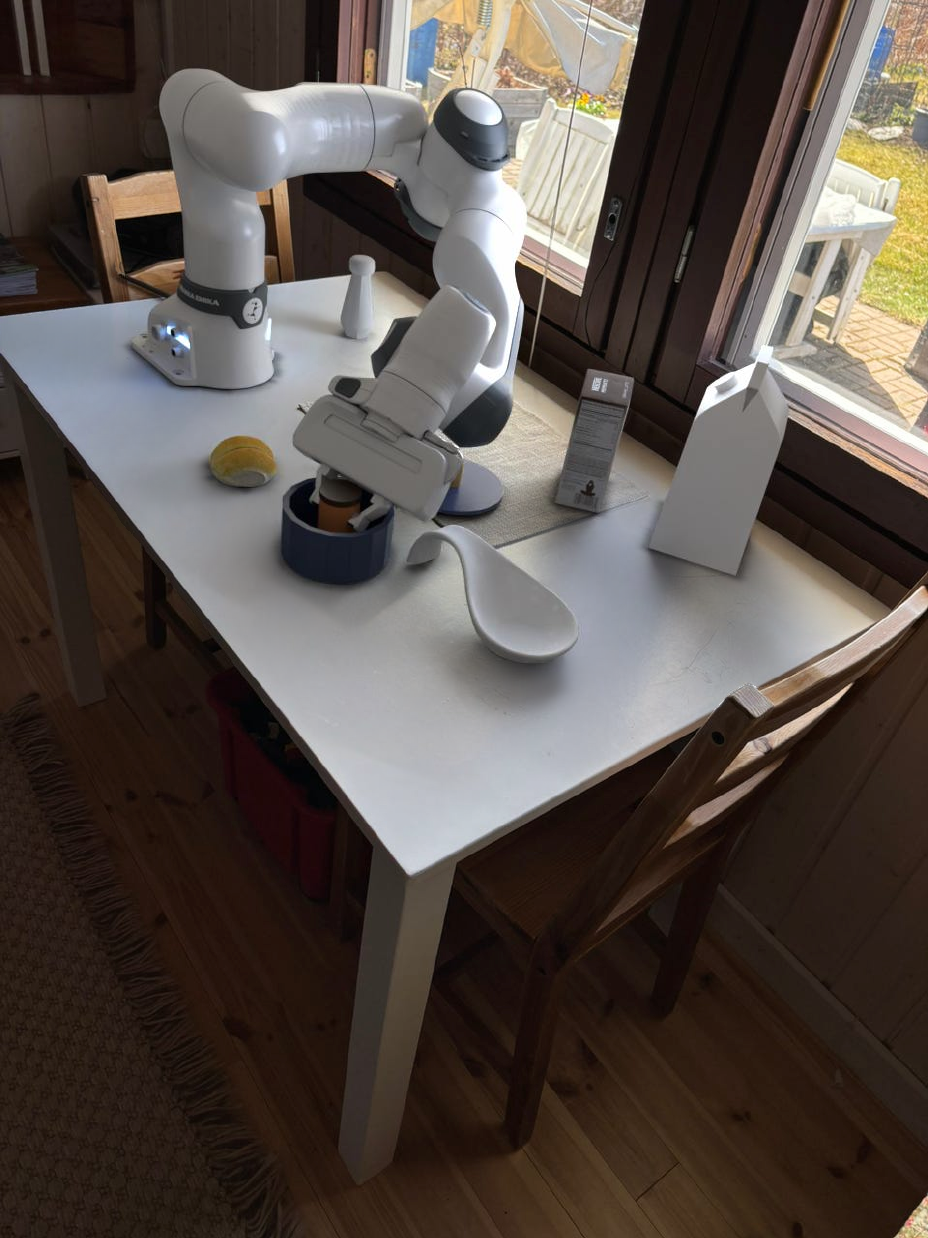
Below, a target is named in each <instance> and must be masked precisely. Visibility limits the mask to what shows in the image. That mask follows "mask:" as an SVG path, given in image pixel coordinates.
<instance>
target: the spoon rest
mask: <svg viewBox="0 0 928 1238" xmlns="http://www.w3.org/2000/svg"><path fill="white" fill-rule="evenodd" d="M443 542H446V543H447V544H449V545H450V546H451V547H452V548H453V549H454V550H455V551H456V554H457V555H458V558H459V561H460V564H461V569H462V577H463V585H464V595H465V601H466V605H467V610H468V614H469V617H470V620H471V623H472V626H473V629H474V631H475V632H476V635H477V636H478V638H479V640H480V641H481V642H482V643H483V644H484V645H485V646H486V648H488V649H489V650H490V651H491V652H493V653H495V654H496V655H498V656H499V657H501V658H503V659H505V660H508V661H512V662H515V663H520V664H541V663H546V662H550V661H552V660H555V659H557V658H559V657H562V656H563V655H565V654H566V653H568V652H569V651H570V650H571V649H572V648H573V647H574V646H575V645H576V643H577V641H578V639H579V636H580V627H579V623H578V620H577V618H576V615H575V614H574V612H573V611H572V610H571V608H570V607H569V606H568V604H567V603H566V602H565V601H564V600H563V599H562V598H561V597H560V596H559V595H557V593H555V592H554V591H553V590H551V589H550V588H549V587H547V586H546V585H545V584H543V583H542V582H541V581H540V580H538V579H536V577H534V576H532V575H531V574H530V573H528V572H527V571H525V570H524V569H523V568H521V567H520V565H517V563H515V562H513V561H512V560H511V559H509V558H508V557H507V556H505V555H504V554H503V553H501V552H500V551H499V550H498V549H497V548H496V547H494V546H492V545H491V544H490V543H489V542H487V541H486V540H484V538H482V537H480V536H479V535H478V534H476V533H475V532H473V531H471V530H470V529H468V528H466V527H463V526H460V525H455V524H448V525H445V526H443V527H441V528H439V529H437V530H428V531H425V532H424V533H422V534H420V535H419V537H417V538H416V539H415V541H414V542H413V543H412V545H411V546H410V549H409V550H408V555H407V558H406V562H407V564H409V565H418V564H423V563H425V562H428V561H430V560H434V559H437V558H438V557H439V556H440V554H441V550H442V546H443Z"/></svg>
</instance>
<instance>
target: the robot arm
mask: <svg viewBox="0 0 928 1238" xmlns="http://www.w3.org/2000/svg"><path fill="white" fill-rule="evenodd" d="M158 107H159V112H160V117H161V120H162V124H163V126H164V129H165V132H166V137H167V140H168V141H167V142H168V147H169V152H170V157H171V164H172V170H173V175H174V180H175V185H176V189H177V193H178V194H177V195H178V200H179V204H180V210H181V218H182V221H181V222H182V235H183V236H182V237H183V262H184V263H183V264H184V268H183V269H178V270H174V271H172V272H171V274H175V275H174V276H172V280H179V281H178V285H177V289H176V292H174V293H173V294H170V293H169V292H166V291H164V290H162V289H159V288H157V287H155V286H153V285H151V284H148V283H147V282H144V281H142V280H140V279H137V278H134V277H132V276H130V275H128V274H126V275H125V276H124V275H122V274H119V275H117V276H118V277H119V278H121V279H122V280H124V281H126V282H129V283H131V284H133V285H135V286H138V287H140V288H142V289H145V290H147V291H149V292H151V293H153V294H156V295H158V296H160V297H163V298H164V300H162V301H160V302H159V303H157V304H156V305H154V306H153V307H152V308H151V309H150V311H149V313H148V317H147V331H144V332H142V333H140V334H138V335H136V337H134V338H133V339H132V340H131V348H132V349H133V350H134V351H135V352H137V353H138V354H139V355H140V356H141V357H143V358H144V359H145V360H146V361H147V362H148V363H150V364H151V365H152V366H153V367H154V368H156V370H157V371H159V372H160V373H161V374H163V375H164V376H165V377H166V378H168V380H169V381H170V382H172V383H173V384H175V385H176V386H182V387H190V386H191V387H195V386H198V387H205V388H206V387H207V388H213V389H222V390H223V389H224V390H236V389H246V388H252V387H256V386H259V385H262V384H263V383H266V382H267V381H269V380H270V379H271V378H272V377H273V375H274V373H275V368H274V363H273V360H274V359H275V349H274V348H272V347H271V328H272V327H271V326H272V318H269V314H268V308H267V305H268V293H269V286H268V279H267V276H265V264H266V263H265V262H266V261H265V258H266V223H265V218H264V215H263V213H262V210H261V208H260V207H261V206H260V205H259V200H258V196H257V193H261V192H266V191H269V190H271V189H274V188H275V187H276V186H278V185H279V184H280V183H281V182H282V181H284V180H288V179H292V178H295V177H299V176H303V175H310V174H320V173H321V174H323V173H324V174H325V173H349V172H350V173H353V172H373V171H383V172H384V171H385V172H390V173H392V174H393V175H395V176H396V177H397V178H396V179H395V180H394V182H393V194H394V197H395V198H396V199H397V200H398V201H399V203H400V208H401V211H402V214H403V216H404V218H405V219H406V221H407V222H408V224H409V225H410V227H411V228H412V229H413V230H414V232H415V233H416V234H418V235H419V236H421V237H422V238H424V239H426V240H428V241H431V242H434V243H435V245H434V249H433V254H432V269H433V274H434V277H435V280H436V282H437V285H438V287H439V290H438V291H437V292H436V293H435V294H434V295H433V296H432V297H431V299H429V301H428V303H426V305H425V306H424V307H423V308H422V310H421V311H420V312H419V314H418V315H413V316H412V315H411V316H403V317H396V318H394V319H393V320H392V323H391V325H390V326H389V329H388V330H387V333H386V334H385V336H384V338H383V340H382V342H380V344H379V346H378V347H377V349H375V350H374V351H373V352H372V353H371V354H370V361H371V369H372V372H373V377H362V376H361V377H360V376H350V375H341V374H339V375H335V376H333V377H332V378H331V379H330V381H329V383H328V384H327V385H328V386H327V390H328V391H329V394H328V393H327V394H324V395H322V396H320V397H319V398H318V399H317V400H315V401H314V403H313V404H312V405H311V406H310V408H309V409H308V410H307V411H306V413H305V415H304V416H303V417H302V419H301V420H300V421H299V423H298V424H297V426H296V427H295V429H294V431H293V434H292V447H294V449H296V450H297V451H298V452H299V453H301V454H302V455H303V456H305V457H306V458H308V459H310V460H312V461H313V462H315V463H317V464H318V465H319V467H318V468H317V470H316V475H315V478H316V486H315V488H316V489H315V491H314V492H313V494H312V496H311V497H310V499H309V502H310V503H311V504H312V505H314V506H315V507H317V508H319V487H320V485H321V484H322V483H324V482H325V481H328V480H333V479H336V478H337V477H338V476H339V477H343V478H345V479H347V480H349V481H351V482H354V483H355V484H357V485H358V486H359V487H361V488H363V489H365V490H366V491H368V492H370V493H372V494H373V495H374V496H373V497H372V499H371V503H373V505H372V506H370V507H369V508H367V509H366V510H364V511H363V512H361V513H358V512H356V511H354V512H353V514H352V516H351V518H350V519H349V520H348V523H347V524H348V526H350V527H351V528H353V529H354V530H356V531H357V532H360V531H365V529H366V528H367V526H368V525H369V523H370V522H372V521H374V520H376V519H377V518H379V517H381V516H383V515H384V514H386V513H387V512H388V510H389V509H390V507H391V505H393V506H394V508H396V509H398V510H400V511H401V512H404V513H405V514H407V515H409V516H410V517H412V518H414V519H416V520H418V521H420V522H421V523H426V522H428V521H431V520H433V519H435V518H434V517H436V515H437V513H439V512H438V510H439V508H440V506H441V504H442V502H443V500H444V498H445V496H446V494H447V492H448V489H449V487H450V484H451V482H452V481H453V480H454V479H455V478H456V477H457V475H458V473H459V472H460V470H461V469H462V467H463V458H464V456H463V453H462V452H461V449H460V448H462V449H464V448H465V449H467V448H479V447H484V446H488V445H490V444H492V443H493V442H494V441H495V440H496V439H497V438H498V436H499V435H500V434H501V433H502V431H503V430H504V429H505V427H506V426H507V423H508V421H509V419H510V417H511V415H512V411H513V407H514V377H515V371H516V364H517V360H518V359H517V358H518V352H519V347H520V342H521V341H520V340H521V334H522V329H523V321H524V311H525V307H524V306H525V305H524V302H523V299H522V296H521V294H520V291H519V289H518V284H517V279H516V272H515V271H516V270H515V265H516V262H517V260H518V258H519V256H520V253H521V249H522V246H523V244H524V243H523V242H524V239H525V235H526V228H527V227H526V226H527V216H528V213H527V208H526V204H525V202H524V200H523V198H522V197H521V195H520V194H519V193H518V192H517V191H516V189H514V188H513V187H511V186H510V185H508V184H507V183H506V182H505V181H504V180H503V175H502V170H503V168H504V167H506V166H507V165H508V164H509V163H510V162H511V152H510V149H509V145H508V144H509V124H508V120H507V117H506V114H505V112H504V110H503V107H502V105H500V104H499V102H498V101H497V100H496V99H495V98H494V97H492V96H491V95H489V94H488V93H487V92H484V91H483V90H480V89H478V88H473V87H456V88H453V89H451V90H450V91H448V92H447V93H446V94H445V95H444V97H443V98H442V99H441V101H440V102H439V103H438V105H437V107H436V108H435V110H434V112H433V117H432V120H431V122H429V117H428V113H427V110H426V108H425V106H424V104H423V103H422V101H421V100H420V99H419V98H418V97H417V96H416V95H414V94H413V93H411V92H409V91H405V90H402V89H399V88H395V87H390V86H385V85H378V84H370V83H360V82H359V83H357V82H325V81H324V82H323V81H322V82H320V81H316V82H315V81H313V82H312V81H302V82H298V83H296V84H295V85H294V86H291V87H286V88H281V89H275V90H257V89H253V88H252V89H251V88H248V87H244V86H242V85H239V84H237V83H236V82H234V81H233V80H231V79H229V78H228V77H226V76H224V75H223V74H221V73H219V72H217V71H215V70H212V69H205V68H185V69H182V70H179V71H176V72H175V73H174V74H172V75H171V76H170V77H169V78H168V79H167V80H166V82H165V83H164V85H163V87H162V88H161V91H160V96H159V105H158ZM437 430H440V432H441V433H442V434H443V436H445V437H446V438H448V440H450V441H451V442H450V441H447V440H446V439H444V438H443V437H441V436H439V435H438V434H435V433H436V432H437ZM455 455H457V456H459V457H457V456H455Z"/></svg>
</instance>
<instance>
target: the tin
mask: <svg viewBox="0 0 928 1238" xmlns="http://www.w3.org/2000/svg"><path fill="white" fill-rule="evenodd" d="M336 479H343V480H347V479H345V478H343V477H342V476H340V475H338V477H337V478H336ZM348 481H349V480H348ZM315 486H316V477H310V478H305V479H304V480H301V481H299V482H297V483H295V484H293V485H291V486H290V487H289V488H288V490H286V491H285V493H284V494H283V495H282V503H281V504H282V507H281V532H280V533H281V535H280V536H281V537H280V553H281V557H282V559H283V561H284V563H285V564H286V565H287V566H288V568H289V569H290V570H292V571H293V572H294V573H296V574H297V575H299V576H301V577H303V578H305V579H308V580H310V581H313V582H317V583H321V584H327V585H336V586H338V585H339V586H346V585H355V584H359V583H363V582H366V581H369V580H371V579H374V578H376V577H377V576H378V575H380V574H381V573H382V572H383V571H384V570H385V569H386V568H387V566H388V564H389V560H390V558H391V551H392V542H393V535H394V527H395V519H396V518H395V517H396V511H395V506H393V505H391V507H390V509H389V510H388V512H387V513H386V514H384V515H383V516H381V517H379V518H377V519H376V520H374V521H372V522H370V523H369V525H368V526H367V528H366V529H365V531H360V532H354V533H335V532H328V531H324V530H320V529H318V513H319V508H317V507H315V506H314V505H312V504H311V503H310V502H309V499H310V497H311V496H312V494H313V492H314V491H315V489H316V488H315ZM360 488H361V487H360ZM361 490H362V499H361V501H360V511H359V513H361V512H363V511H364V510H366V509H367V508H369V507H370V506H372V505H373V503H371V499H372V497H373V496H374V495H373V494H372V493H370V492H368V491H366V490H365V489H363V488H361Z"/></svg>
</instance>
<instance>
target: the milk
mask: <svg viewBox="0 0 928 1238" xmlns="http://www.w3.org/2000/svg"><path fill="white" fill-rule="evenodd" d="M774 349H775V348H774V347H773V346H770V345H766V344H762V345H761V347H760V349H759V352H758V353H757V357H756V359H755V362H753V363H751V364H749V365H747V366H745V367H742V368H740V369H738V370H736V371H731V372H728V373H726V374H724V375H723V376H721V377H720V378H718V379H716V380H714V382H712V383H710V384H709V385H708V386H707V387H706V389H705V392H704V395H703V397H702V400H701V402H700V405H699V407H698V409H697V412H696V415H695V417H694V419H693V423H692V424H691V428H690V430H689V433H688V436H687V438H686V442H685V444H684V447H683V449H682V453H681V456H680V458H679V461H678V464H677V465H676V469H675V472H674V475H673V478H672V480H671V483H670V486H669V489H668V491H667V494H666V497H665V499H664V502H663V505H662V507H661V509H660V513H659V517H658V519H657V522H656V524H655V527H654V529H653V533H652V536H651V537H650V540H649V544H648V547H647V548H648V549H650V550H651V549H652V550H654V551H658V552H661V553H664V554H666V555H670V556H673V557H676V558H679V559H683V560H685V561H689V562H692V563H694V564H697V565H700V566H704V567H707V568H711V569H714V570H715V571H716V570H717V571H719V572H723V573H726V574H729V575H732V576H736V575H737V572H738V569H739V567H740V564H741V561H742V559H743V555H744V552H745V549H746V547H747V544H748V541H749V538H750V536H751V532H752V529H753V527H754V523H755V521H756V518H757V515H758V513H759V509H760V506H761V504H762V501H763V498H764V495H765V492H766V490H767V487H768V484H769V480H770V478H771V475H772V472H773V470H774V466H775V464H776V461H777V458H778V456H779V452H780V449H781V447H782V446H781V445H782V443H783V440H784V437H785V431H786V427H787V422H788V418H789V413H790V408H789V405H788V402H787V399H786V397H785V396H784V394H783V392H782V390H781V388H780V387H779V385H778V384H777V382H776V380H775V378H774V377H773V375H772V374H771V372H770V370H769V365H770V362H771V359H772V355H773V351H774Z"/></svg>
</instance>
